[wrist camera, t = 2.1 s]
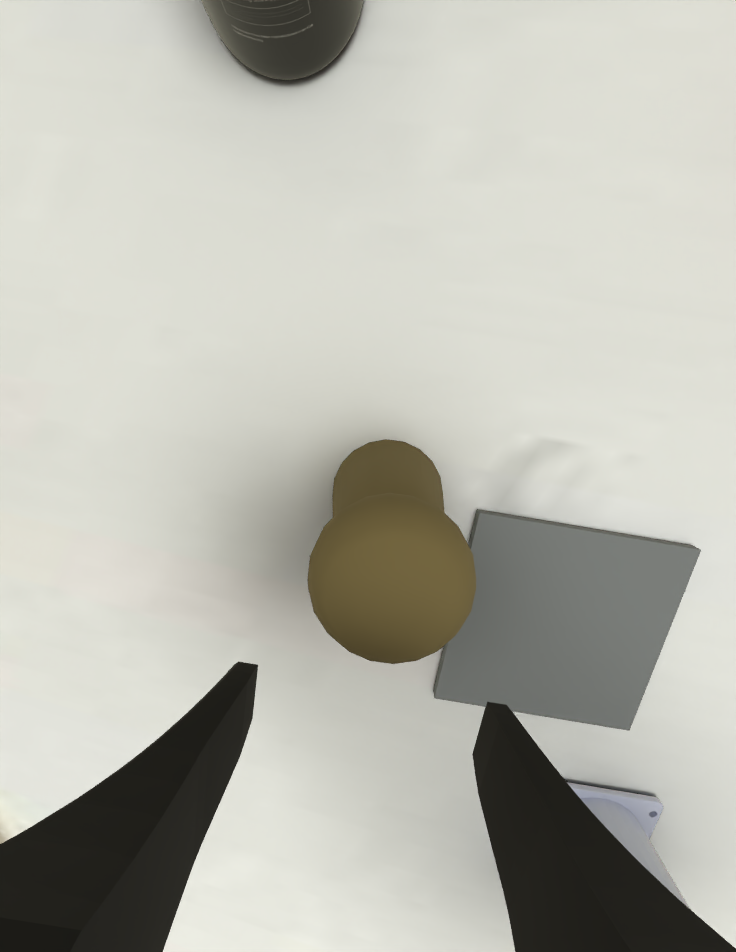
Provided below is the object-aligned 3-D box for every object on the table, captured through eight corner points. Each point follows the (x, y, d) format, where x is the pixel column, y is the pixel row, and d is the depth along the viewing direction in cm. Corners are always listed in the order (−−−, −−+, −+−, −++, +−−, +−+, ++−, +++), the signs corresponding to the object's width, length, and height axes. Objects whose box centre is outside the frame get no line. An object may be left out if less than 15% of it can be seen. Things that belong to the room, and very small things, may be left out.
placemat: (623, 722, 24) (629, 730, 23) (433, 690, 24) (434, 698, 23) (692, 545, 21) (701, 549, 21) (477, 509, 21) (479, 513, 21)
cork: (311, 507, 21) (241, 628, 11) (373, 417, 20) (363, 453, 10) (400, 564, 22) (416, 734, 11) (465, 480, 21) (552, 583, 10)
